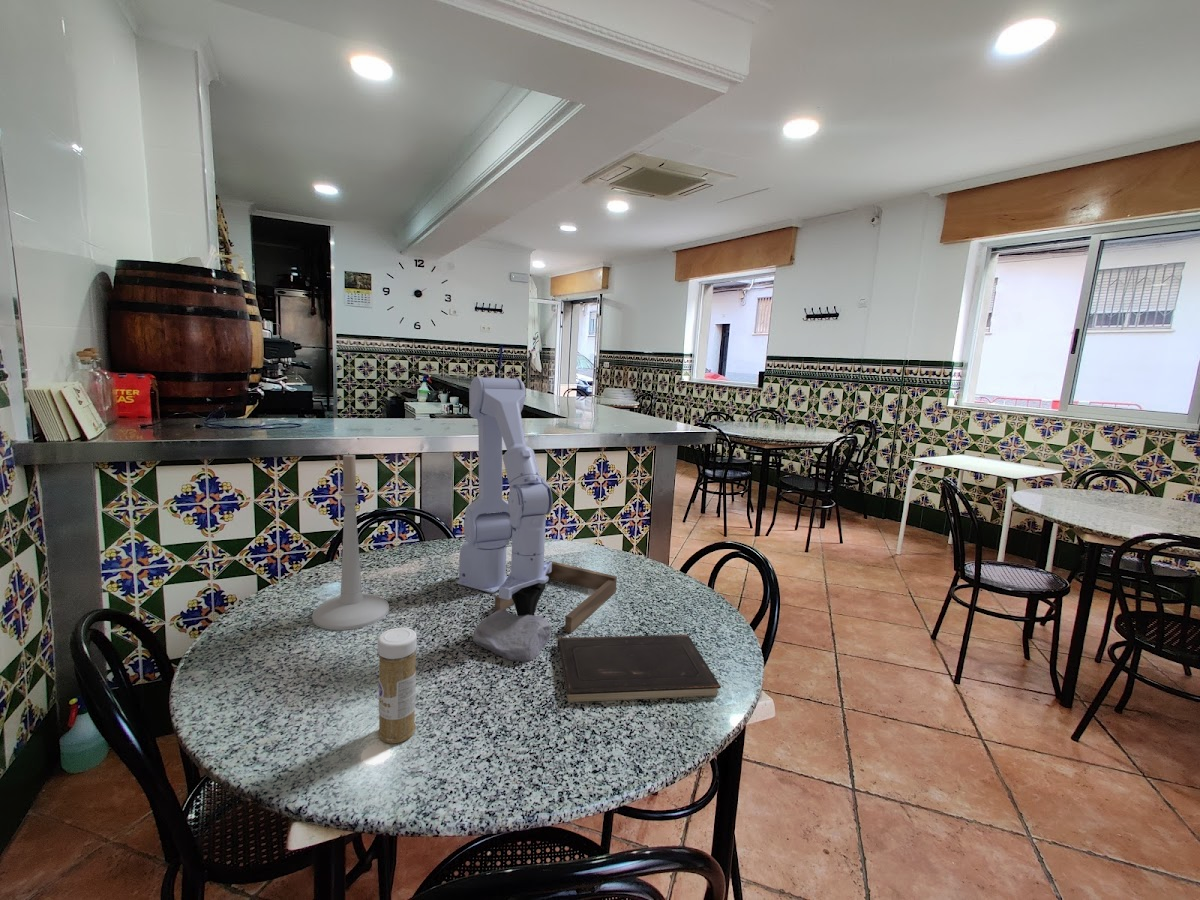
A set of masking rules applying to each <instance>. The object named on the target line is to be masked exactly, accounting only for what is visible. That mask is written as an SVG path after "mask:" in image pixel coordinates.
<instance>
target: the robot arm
mask: <svg viewBox="0 0 1200 900" xmlns="http://www.w3.org/2000/svg"><path fill="white" fill-rule="evenodd" d="M468 391H469V393H468V394H469V396H468V397H469V399H468V400H469V409H468V410H469V414H470V418H473V419H476V420H477V428H478V433H477V434H478V497H477V498H476V499H475V500H474V501H473V502H471V503H469V505H468V506H467V507H465V512H464V514H465V515H464V521H463V535H464V539H465V541H464V543H463V544H462V546H461V547H460V551H459V555H458V556H459V558H458V559H459V560H458V561H459V562H458V564H459V565H458V566H459V567H458V580H457V581H456V584H458V585H461V586H464V587H469V588H471V589H476V590H478V591H479V590H480V591H483V592H487V593H490V594H494V593H495V592H498V595H499V598H503V599H506V600H509V599H511V598H512V599H513V602H514V604H513V605H514V607H515V611H516V616H524V615H533V616H535V612H536V610H537V606H538V603H539V601H540V598H541V596H542V595H543V592H544V591H545V589H546V586H547V585H546V583H547V582H548V581H550V580H549V577H548V576H545V575H546V573H550V572H552V562H553V561H552V562H549V561H548V560H545V547H546V546H545V545H546V524H547V523H546V520H547V516H548V515H549V514H551V513H552V509H553V504H554V503H553V493H552V489H551V486H550V485H549V483H548V482H547V481H546V479H545V477H542V476H541V472H540V469H539V465H538V463H537V461H538V460H537V459H536V455H535V450H534V449H533V448H531V447H530V446H529V445H528V446H527V445H526V444H527V443H526V437H525V432H524V426H523V425H524V424H523V420H522V414H521V413H522V411H523V409H524V404H525V400H526V386H525V384H524V382H523V381H522V379H521V378H520V377H515V378H509V377H508V378H507V377H506V378H505V377H482V376H474V377H473V379H472V380H471V382H470V387H469V390H468ZM503 443H504V445H505V448H506V451H505V452H504V454H503ZM503 465H504V469H505V474H506V478H507V482H508V485H509V491H508V497H507V500H505V499H504V498H503ZM510 541H511V563H510V564H511V565H510V573H509V574H508V575H507V571H506V569H507V546H508V545H510ZM506 575H507V576H506Z"/></svg>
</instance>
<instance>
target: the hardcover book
mask: <svg viewBox="0 0 1200 900" xmlns="http://www.w3.org/2000/svg"><path fill="white" fill-rule="evenodd" d="M556 647H558V649H559V653H560V654H559V655H560V661H561V667H562V673H563V678H564V679H563V680H564V684H565V691H566V697H567V703H581V702H601V701H603V702H604V701H623V700H624V701H625V700H645V699H646V700H647V699H667V698H688V697H689V698H691V697H692V698H693V697H710V696H718V694H719V689H721V688H722V687H721V686H722V685H721V684H720V683H719V682H718V680H717V679H716V676H715V675H714V674H713V672H712V671H711V668H710V667H709V665H708V664H707V662H706V661H705V659H704V657H703V656H702V655H701V653H700V652H699V650H698V648H697V647H696V644H695V643H694V641H693V640H692V639H691V637H690V636H689V634H663V635H659V634H658V635H626V636H624V635H623V636H622V635H621V636H586V637H585V636H584V637H583V636H580V637H575V636H574V637H557V646H556Z"/></svg>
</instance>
